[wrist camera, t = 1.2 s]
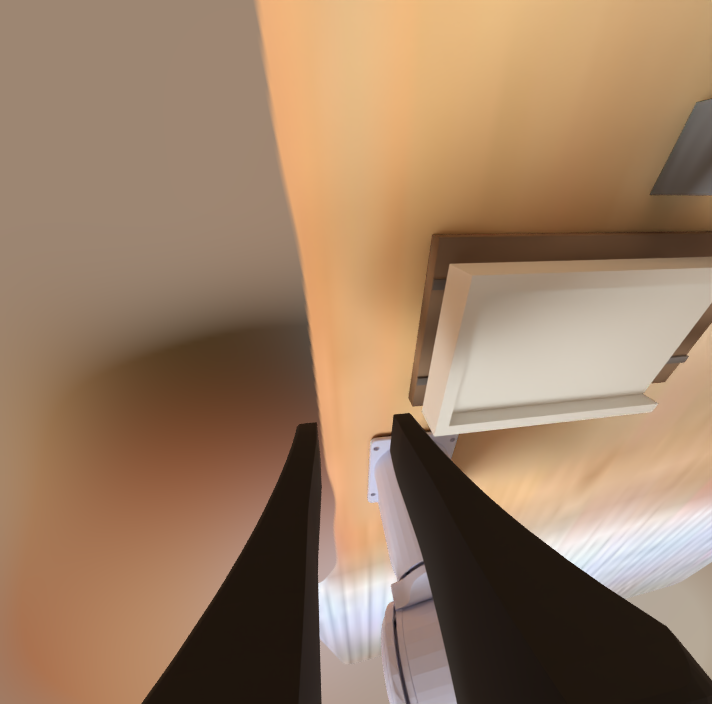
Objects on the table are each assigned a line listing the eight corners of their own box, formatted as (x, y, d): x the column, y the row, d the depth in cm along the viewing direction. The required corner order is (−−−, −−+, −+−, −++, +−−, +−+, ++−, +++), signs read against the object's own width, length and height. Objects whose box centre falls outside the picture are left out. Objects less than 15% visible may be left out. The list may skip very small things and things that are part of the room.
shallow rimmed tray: (605, 382, 21) (651, 412, 18) (415, 400, 19) (434, 436, 16) (688, 252, 16) (770, 265, 13) (439, 258, 14) (472, 275, 11)
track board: (652, 375, 24) (667, 383, 23) (408, 397, 21) (413, 408, 20) (759, 230, 17) (787, 233, 16) (432, 234, 15) (441, 237, 14)
